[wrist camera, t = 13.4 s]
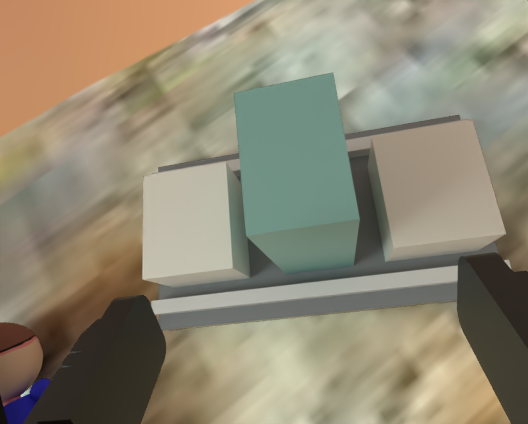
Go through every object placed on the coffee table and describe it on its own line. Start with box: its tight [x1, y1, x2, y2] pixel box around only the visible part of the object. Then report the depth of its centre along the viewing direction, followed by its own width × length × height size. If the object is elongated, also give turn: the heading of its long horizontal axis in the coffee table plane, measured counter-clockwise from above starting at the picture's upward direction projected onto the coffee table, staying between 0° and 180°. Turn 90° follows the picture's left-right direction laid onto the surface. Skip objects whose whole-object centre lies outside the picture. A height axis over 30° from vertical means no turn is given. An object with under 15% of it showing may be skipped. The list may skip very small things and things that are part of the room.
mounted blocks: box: [142, 120, 506, 287], centre depth 22 cm, size 18×6×4 cm, turn 95°
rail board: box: [151, 115, 512, 330], centre depth 24 cm, size 20×11×2 cm, turn 95°
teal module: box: [234, 73, 360, 274], centre depth 19 cm, size 4×6×10 cm, turn 6°
